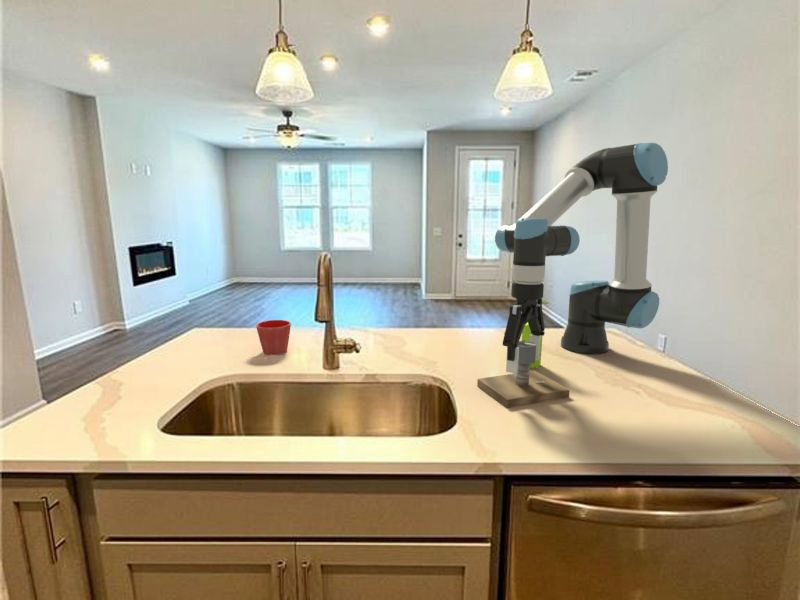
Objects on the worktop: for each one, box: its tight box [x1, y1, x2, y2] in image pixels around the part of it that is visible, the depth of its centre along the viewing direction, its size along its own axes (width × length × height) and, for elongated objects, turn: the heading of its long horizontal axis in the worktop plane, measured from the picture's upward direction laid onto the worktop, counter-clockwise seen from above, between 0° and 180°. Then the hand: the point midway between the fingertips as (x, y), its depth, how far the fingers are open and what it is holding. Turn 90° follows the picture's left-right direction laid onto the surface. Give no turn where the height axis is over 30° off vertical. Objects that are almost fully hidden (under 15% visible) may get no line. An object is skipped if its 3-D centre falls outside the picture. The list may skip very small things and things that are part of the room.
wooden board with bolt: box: [476, 363, 571, 408], centre depth 108 cm, size 18×14×8 cm
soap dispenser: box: [521, 299, 549, 369], centre depth 127 cm, size 6×7×20 cm
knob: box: [517, 340, 536, 365], centre depth 107 cm, size 6×5×5 cm
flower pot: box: [256, 319, 292, 356], centre depth 141 cm, size 11×11×10 cm
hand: (523, 365), depth 108 cm, fingers open, 12 cm apart
